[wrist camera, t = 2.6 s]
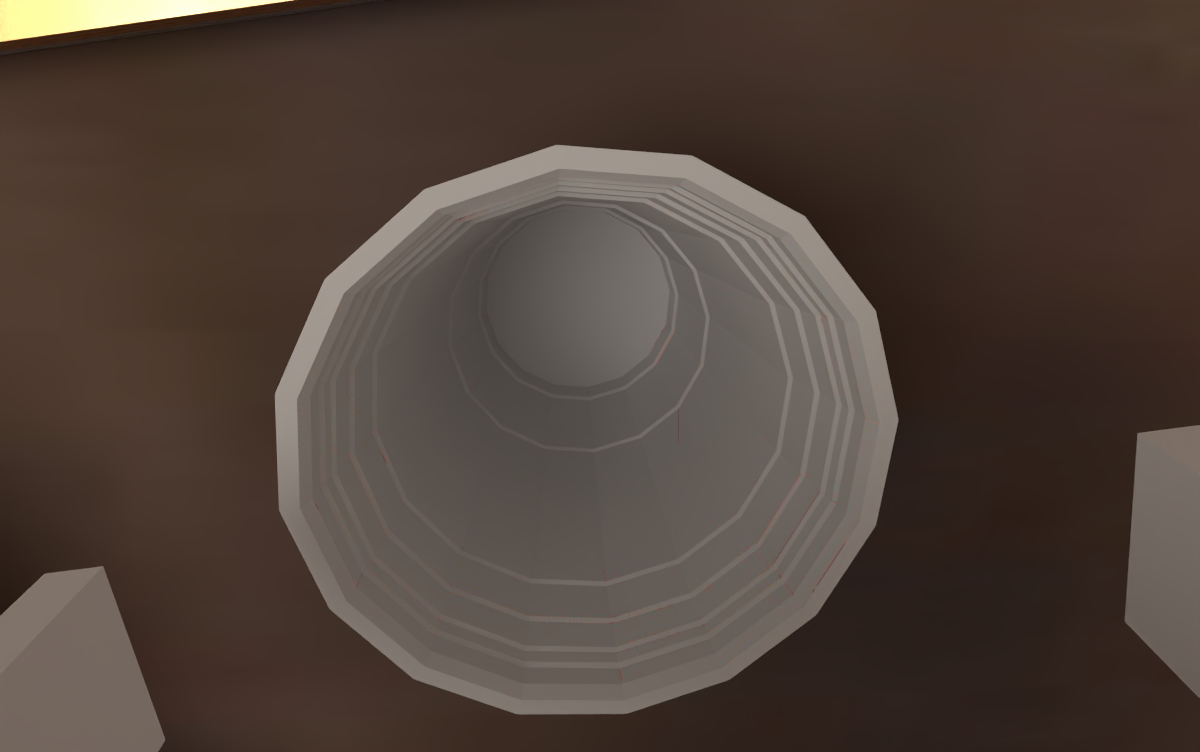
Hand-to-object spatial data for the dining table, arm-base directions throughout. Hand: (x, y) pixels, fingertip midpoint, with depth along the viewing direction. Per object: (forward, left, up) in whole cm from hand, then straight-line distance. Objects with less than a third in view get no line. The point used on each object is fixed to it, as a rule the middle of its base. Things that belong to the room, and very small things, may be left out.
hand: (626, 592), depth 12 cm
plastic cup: (0, 0, -16) cm, 16 cm away
